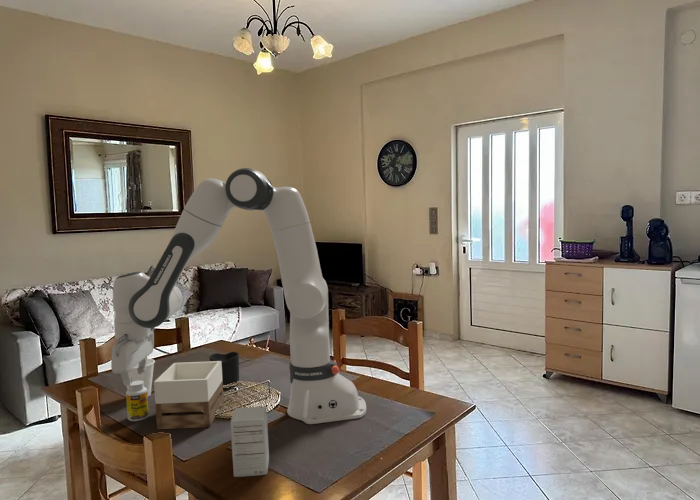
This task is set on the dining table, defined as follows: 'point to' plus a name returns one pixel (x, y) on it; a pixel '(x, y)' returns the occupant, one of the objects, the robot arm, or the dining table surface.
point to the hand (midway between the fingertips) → (135, 378)
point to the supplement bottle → (137, 401)
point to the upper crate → (188, 382)
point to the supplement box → (250, 441)
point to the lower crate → (189, 412)
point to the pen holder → (228, 366)
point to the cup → (144, 375)
